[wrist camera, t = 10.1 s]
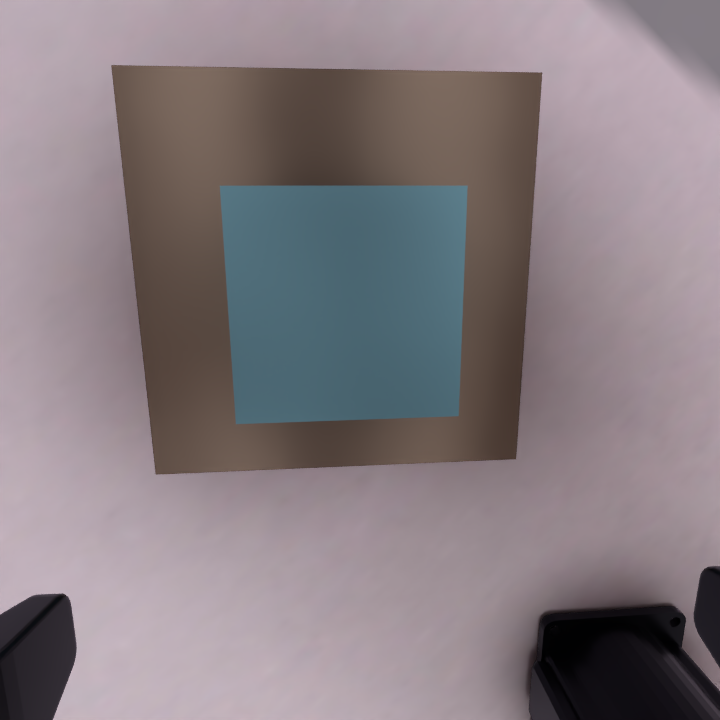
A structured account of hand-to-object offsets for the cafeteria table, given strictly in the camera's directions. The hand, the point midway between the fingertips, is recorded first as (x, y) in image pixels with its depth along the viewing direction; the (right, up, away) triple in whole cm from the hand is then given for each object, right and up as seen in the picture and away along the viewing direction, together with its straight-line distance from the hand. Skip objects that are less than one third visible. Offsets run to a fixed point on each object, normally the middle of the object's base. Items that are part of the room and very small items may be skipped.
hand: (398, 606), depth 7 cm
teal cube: (-1, +6, +9) cm, 10 cm away
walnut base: (-1, +6, +11) cm, 13 cm away
